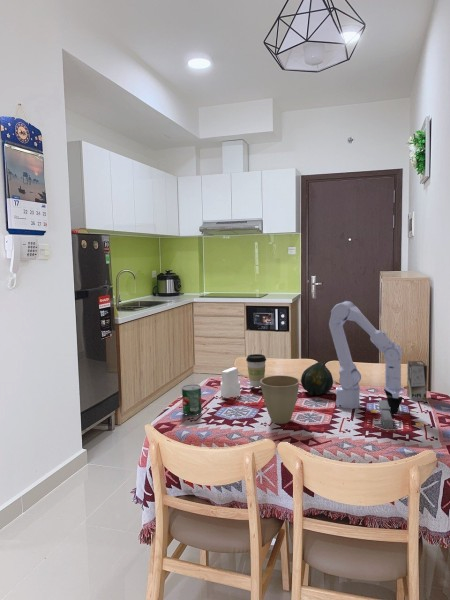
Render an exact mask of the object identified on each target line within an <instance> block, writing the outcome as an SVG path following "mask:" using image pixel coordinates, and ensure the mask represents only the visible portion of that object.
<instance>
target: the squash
mask: <svg viewBox="0 0 450 600" xmlns="http://www.w3.org/2000/svg"><path fill="white" fill-rule="evenodd" d="M300 384H301V387H302V388H303V390H305V392H306V393H307V394H308V395H311V396H313V395H317V396H319V395H321V394H327V393H328V392H330V390H331V389H332V388H333V384H334V380H333V375H332V373H331V371H330V369H329V368H328V367H327V366H326V365H325V363H324V362H323V361H318V362H315V363H314V364H311V365H310V366H309V367H307V368H306V369H305V370H304V371H303V372H302V374H301V377H300Z"/></svg>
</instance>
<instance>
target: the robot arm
mask: <svg viewBox="0 0 450 600" xmlns="http://www.w3.org/2000/svg"><path fill="white" fill-rule="evenodd" d="M330 313H331V314H330V318H329V322H328V328H329V331H330V334H331V337H332V342H333V345H334V349H335V351H336V356H337V359H338V364H339V371H338V374H339V380H338V381H339V385H340V386H336V388H335V389H336V400H335V405H336V408H338V409H339V408H344V409H352V410H353V409H357V408H360V402H361V401H360V398H361V397H360V385H359V383H360V382H361V380H362V374H361V373H360V371H359V370H358V368H357V365H356V364H355V363H354V362H353V358H352V355H351V351H350V347H349V344H348V341H347V336H346V333H345V330H344V325H345V323H346V321H351V322H355V323H356V324H357V325H359V327H360V328H362V329H363V331H365V332H366V333H367V334H368V335H369V336H370V337H369V339H370V342H371V343H372V344H373V345H374V346H375V347H376V349H378V350H379V351H380V352H381V353H382V354H383V355H382V356H383V358H384V360H385V365H384V366H385V367H384V369H385V371H384V372H385V373H384V375H385V376H384V378H385V379H384V381H385V383H384V385H385V386H384V388H383V391H384V393H385V395H386V400H387V402H388V404H389V407H390V414H391V415H398V412H399V409H400V405H401V403H402V402H403V399H404V398H403V396H399V394H400V392H401V391H405V387H403V386H401V385H402V362H401V361H402V360H401V359H402V358H401V357H402V356H403V350H402V348H401V346H400V345H399V344H396V343H395V341H392V340H391V339H390V337H388V336H387V332H386V331H384V332H383V331H382V330H381V329H380V330H378V329H376V327H375V326H374V325H373V324H372V323H371V321H369V319H368V318H367V317H366V316H365V315H364V314H363V312H361V310H360V309H359V307H357V305H355V304H354V303H353V302H352V301H349V300H344V301H342V302H340V303H337V304H335V305H334V306H333V308H332V309H331V310H330Z"/></svg>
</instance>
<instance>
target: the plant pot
mask: <svg viewBox="0 0 450 600" xmlns="http://www.w3.org/2000/svg"><path fill="white" fill-rule="evenodd" d="M260 382H261V393H262V396H263V401H264V404H265V407H266V410H267V413H268V415H269V419H270V420H271V422H272V423H274V424H279V425H284V424H288V423H289V422H291V420H292V417H293V414H294V412H295V408H296V404H297V401H298V400H297V399H298V395H299V386H300V379H299V378H297V377H295V376H292V375H291V376H290V375H281V374H279V375H269V376H266V377H265V376H264V378H263V379H261V381H260Z"/></svg>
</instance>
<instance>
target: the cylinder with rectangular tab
mask: <svg viewBox="0 0 450 600" xmlns="http://www.w3.org/2000/svg"><path fill="white" fill-rule="evenodd" d="M221 395H222V396H224V397H236V398H238V397H237V396H239V395H240V396H241V381H240V380H239V371H238V367H234V366H233V367H230V368H227V369H225V370H223V371H221V381H220V396H221ZM222 396H221V397H222ZM240 396H239V397H240ZM224 397H223V398H224Z"/></svg>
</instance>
